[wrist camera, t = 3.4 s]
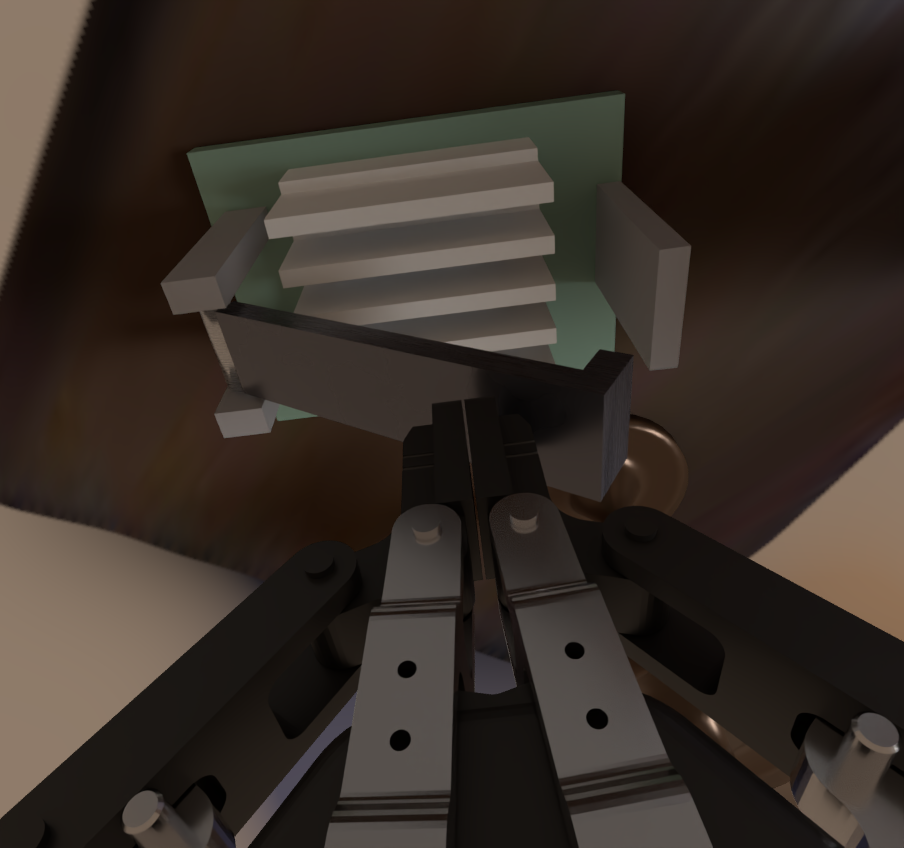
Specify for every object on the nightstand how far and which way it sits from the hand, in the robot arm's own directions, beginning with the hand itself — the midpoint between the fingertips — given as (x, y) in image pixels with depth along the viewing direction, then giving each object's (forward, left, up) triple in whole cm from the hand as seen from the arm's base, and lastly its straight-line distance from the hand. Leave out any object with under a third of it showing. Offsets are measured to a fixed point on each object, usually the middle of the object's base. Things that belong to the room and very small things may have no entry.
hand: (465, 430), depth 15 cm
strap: (+2, 0, -4) cm, 4 cm away
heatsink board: (+1, +1, -13) cm, 13 cm away
